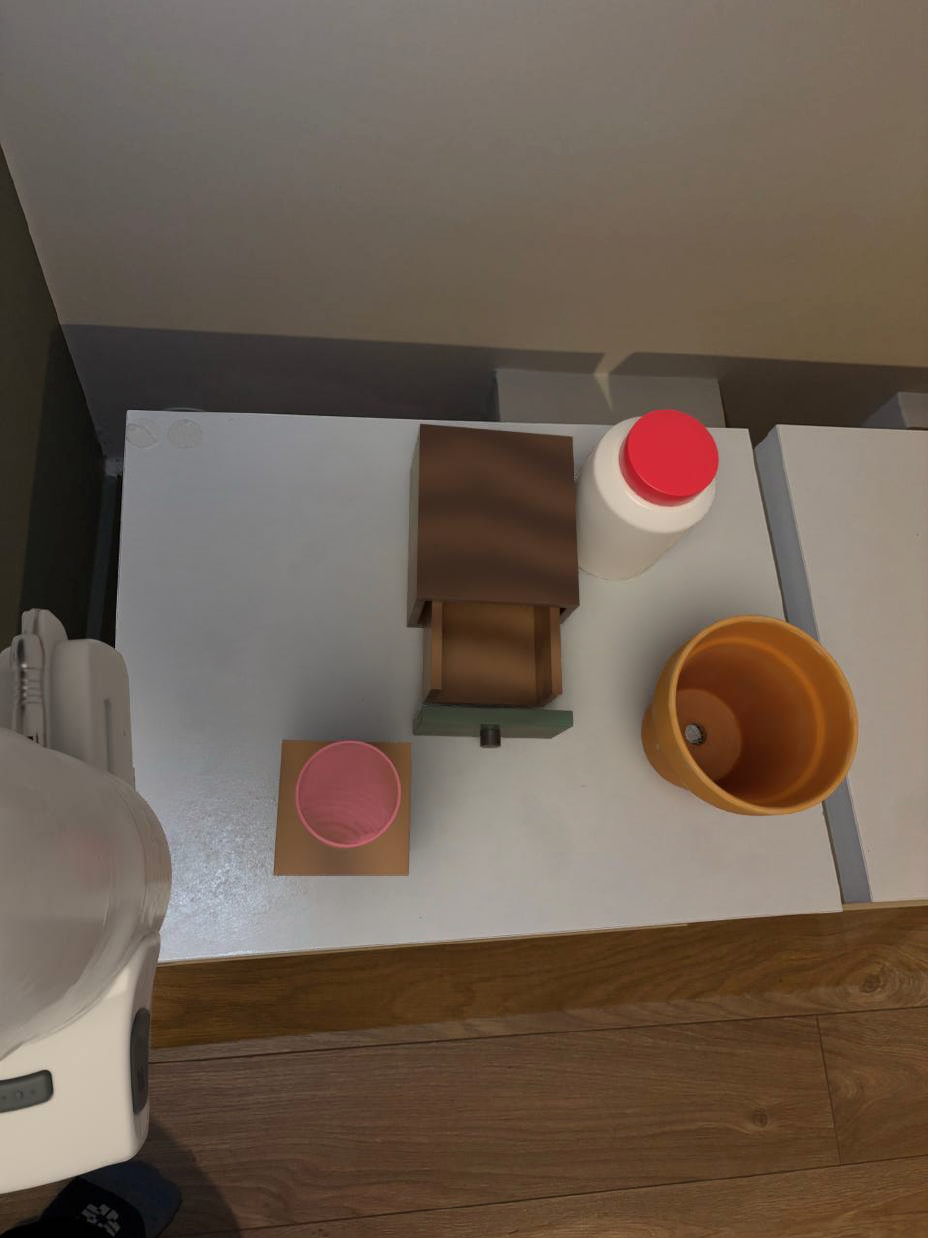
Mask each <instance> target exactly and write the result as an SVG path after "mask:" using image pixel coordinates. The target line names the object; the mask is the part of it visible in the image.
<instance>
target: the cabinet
mask: <svg viewBox="0 0 928 1238" xmlns="http://www.w3.org/2000/svg"><path fill="white" fill-rule="evenodd" d="M415 442H416V443H415V446H414V451H413V454H412V460H411V465H410V470H409V507H408V508H409V510H408V512H409V513H408V544H407V545H408V546H407V547H408V549H407V551H408V552H407V554H408V555H407V593H406V594H407V595H406V628H414V629H415V628H416V629H417V628H418V629H419V628H420V629H424V604H425V601H442V602H462V603H481V604H500V605H520V606H539V607H558V608H559V609H560V626H562V624H563V623H564V622H565V621H566V620H568V618H569V617H571V615H572V614H573V613H574V612H575V611H576V610H577V609H578V608H579V607H580V606H581V602H580V601H581V599H580V579H579V578H580V576H579V575H580V574H579V567H578V551H577V528H576V504H575V481H574V480H575V460H574V438H573V436H570V435H558V434H547V433H537V432H536V433H533V432H523V431H511V430H501V429H489V428H478V427H477V428H475V427H466V426H465V427H464V426H454V425H453V426H452V425H442V424H429V423H419V427H418V432H417V436H416V441H415Z"/></svg>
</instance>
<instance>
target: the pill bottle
mask: <svg viewBox="0 0 928 1238" xmlns="http://www.w3.org/2000/svg"><path fill="white" fill-rule="evenodd" d="M719 462H720V457H719V450H718V446H717V443H716V441H715V439H714V438H713V435H712V434H711V433H710V431H709V430H708V428H707V427H706V426H705V425H704V424H703V423H702V422H700V421H699V420H698V419H696V418H695V417H693V416H692V415H690V414H688V413H686V412H683V411H679V410H675V409H669V408H666V409H657V410H653V411H649V412H648V413H646V414H644V415H640V416H634V417H630V418H627V419H624V420H621V421H620V422H618V423H615V424H614V425H613V426H612V427H610V429H608V430H607V431H606V432H605V433H604V435H602V437H601V438H600V440H599V441H598V442H597V444H596V446H595V447H594V449H593V451H592V452H591V453H590V455H589V457H588V459H587V460H586V461H585V463H584V464H583V466H582V467H581V469H580V471H579V472H578V474H577V476H575V478H574V481H575V504H576V528H577V551H578V568H580V569H581V570H582V571H584V572H586V573H587V574H589V575H591V576H594V577H595V578H600V579H604V580H609V581H623V580H629V579H632V578H634V577H639V575H641V574H643V573H644V572H646V571H647V570H648V569H650V567H652V566H653V565H654V564H655V563H656V562H657V561H658V560H659V559H660V558H662V556H664V555H665V554H666V553H667V552H668V551H669V550H670V549H671V548H672V547H673V546H675V545H676V543H678V542H679V541H680V540H681V539H682V538H683V537H684V536H685V535H686V534H687V533H688V532H690V530H692V529H693V528H694V527H695V526H697V524H698V523H699V522H701V520H702V519H703V518H704V517H705V516H706V515H707V514H708V512H709V510H710V509H711V508H712V505H713V502H714V500H715V497H716V492H717V485H718V482H717V473H718V469H719Z"/></svg>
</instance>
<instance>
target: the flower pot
mask: <svg viewBox="0 0 928 1238" xmlns="http://www.w3.org/2000/svg"><path fill="white" fill-rule="evenodd" d="M858 717H859V716H858V709H857V705H856V702H855V698H854V695H853V692H852V689H851V685H850V683H849V681H848V679H847V677H846V675H845V674H844V671H843V670H842V669H841V667H840V665H839V664H838V662H836V660H835V659H834V657H833V656H832V655H831V653H829V651H828V650H827V648H825V647H824V646H823V645H822V644H821V643H820V642H819V641H818V640H816V639H815V638H814V637H813V636H811V635H810V634H809V633H807V632H806V631H804V630H802V629H801V628H799V627H798V626H796V625H794V624H792V623H790V622H787V621H786V620H783V619H779V618H775V617H772V616H767V615H761V614H740V615H734V616H730V617H726V618H722V619H720V620H718V621H715V622H713V623H711V624H709V625H708V626H706V627H704V628H703V629H701V630H700V631H699V632H697V633H696V634H694V635H693V636H691V637H690V638H689V639H687V640H685V642H684V643H683V644H681V645H680V646H679V647H678V648H677V649H676V650H675V651H674V652H673V653H672V654H671V656H670V657H669V658H668V660H667V661H666V662H665V663H664V666H663V667H662V669H661V671H660V674H659V676H658V678H657V680H656V684H655V687H654V693H653V698H652V700H651V702H650V703H649V705H648V706H647V709H646V710H645V713H644V715H643V718H642V722H641V733H640V734H641V743H642V747H643V751H644V754H645V756H646V759H647V760H648V762H649V764H650V765H651V767H652V768H653V769H654V771H655V772H656V773H657V774H658V775H659V777H661V778H662V779H664V780H665V781H667V782H668V783H670V784H671V785H673V786H676V787H678V788H680V789H683V790H686V791H689V792H691V793H692V794H693V795H694V796H695V797H697V798H699V799H700V800H702V801H703V802H704V803H707V804H709V805H710V806H712V807H714V808H716V809H719V810H722V811H724V812H727V813H731V814H735V815H741V816H748V817H749V816H750V817H770V816H783V815H784V816H785V815H793V814H795V813H796V814H797V813H800V812H803V811H806V810H808V809H810V808H813V807H816V806H817V805H819V804H821V803H822V802H824V801H825V800H826V799H827V798H829V797H830V796H831V795H832V794H834V792H835V791H836V790H837V789H838V788H839V786H840V785H841V784H842V783H843V782H844V780H845V778H846V777H847V775H848V773H849V771H850V769H851V767H852V765H853V763H854V760H855V756H856V752H857V747H858V742H859V741H858V740H859V718H858ZM690 725H692V726H696V727H697V728H699V730H700V731H701V732H702V738H701V739H702V740H701V741H700V742H699V744H694V743H691V742H690V741H689V740H688V738H687V737H686V731H687V727H688V726H690Z"/></svg>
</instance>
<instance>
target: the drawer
mask: <svg viewBox="0 0 928 1238" xmlns="http://www.w3.org/2000/svg"><path fill="white" fill-rule="evenodd" d="M422 632H423V633H422V634H423V640H422V642H423V643H422V647H423V648H422V689H421V690H422V695H421V696H422V698H421V701H422V702H421V703H422V704H423V705H422V706H420V708H419V710H418V712H417V713H416V715H415V717H414V719H413V720H412V736H427V737H429V736H430V737H461V738H463V737H464V738H465V737H466V738H479V747H480V748H483V749H497V748H501V747H502V738H505V739H506V738H507V739H539V740H541V739H543V740H552V739H553V738H555V737H557V736H558V735H560V734H562V733H564V732H565V731H568V730H569V729H571V728H573V727H574V712H573V710H564V709H563V710H561V709H543V708H545V707H546V706H548V705H549V704H550V703H552V702H553V701H555V700H556V699H557V698H559V697H560V696H561V695H562V694H563V672H562V671H563V669H562V668H563V667H562V641H561V640H562V639H561V638H562V637H561V625H560V609H559V608H558V607H539V606H520V605H500V604H481V603H462V602H442V601H425V604H424V628H423V631H422ZM437 705H442V706H437ZM443 705H446V706H443ZM449 705H450V706H449ZM465 706H466V707H465ZM468 706H470V707H468ZM471 706H474V707H471ZM475 706H479V707H475ZM498 707H499V708H498ZM500 707H504V708H500ZM505 707H507V708H505ZM508 707H510V708H508ZM511 707H512V708H511ZM514 707H515V708H514ZM525 708H526V709H525ZM528 708H529V709H528ZM531 708H532V709H531ZM533 708H537V709H533ZM538 708H539V709H538Z"/></svg>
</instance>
